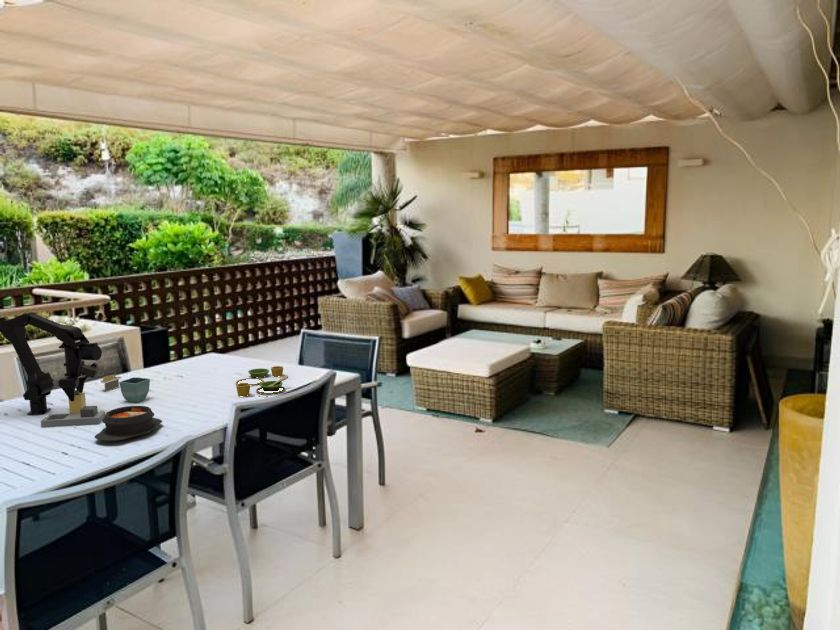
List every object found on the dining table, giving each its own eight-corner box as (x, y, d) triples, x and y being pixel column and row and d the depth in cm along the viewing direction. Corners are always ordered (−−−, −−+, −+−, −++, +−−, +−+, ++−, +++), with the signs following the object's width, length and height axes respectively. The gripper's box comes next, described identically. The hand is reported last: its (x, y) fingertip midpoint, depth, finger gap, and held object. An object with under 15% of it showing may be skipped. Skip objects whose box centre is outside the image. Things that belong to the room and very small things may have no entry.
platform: (84, 394, 275) (83, 379, 274) (115, 383, 292) (114, 370, 291) (106, 396, 272) (104, 381, 271) (136, 385, 289) (135, 372, 288)
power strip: (49, 420, 238) (48, 406, 237) (105, 417, 242) (104, 404, 241) (41, 427, 230) (39, 413, 229) (99, 424, 234) (98, 410, 233)
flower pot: (152, 398, 267) (150, 378, 266) (137, 404, 259) (136, 383, 257) (134, 397, 269) (133, 377, 268) (120, 402, 261) (118, 382, 260)
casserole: (134, 420, 239) (133, 399, 237) (174, 425, 233) (173, 404, 232) (81, 442, 215) (79, 419, 214) (124, 448, 209) (122, 425, 208)
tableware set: (277, 400, 267) (276, 386, 266) (215, 398, 270) (214, 384, 269) (304, 376, 308) (303, 363, 307) (250, 374, 311) (249, 362, 310)
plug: (74, 412, 248) (72, 389, 246) (86, 411, 249) (84, 388, 247) (70, 416, 243) (67, 392, 242) (82, 415, 244) (80, 391, 243)
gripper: (87, 364, 235) (91, 403, 238) (102, 353, 253) (105, 390, 256) (55, 365, 233) (59, 405, 235) (73, 354, 251) (76, 391, 254)
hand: (76, 398), depth 245 cm, fingers open, 9 cm apart
